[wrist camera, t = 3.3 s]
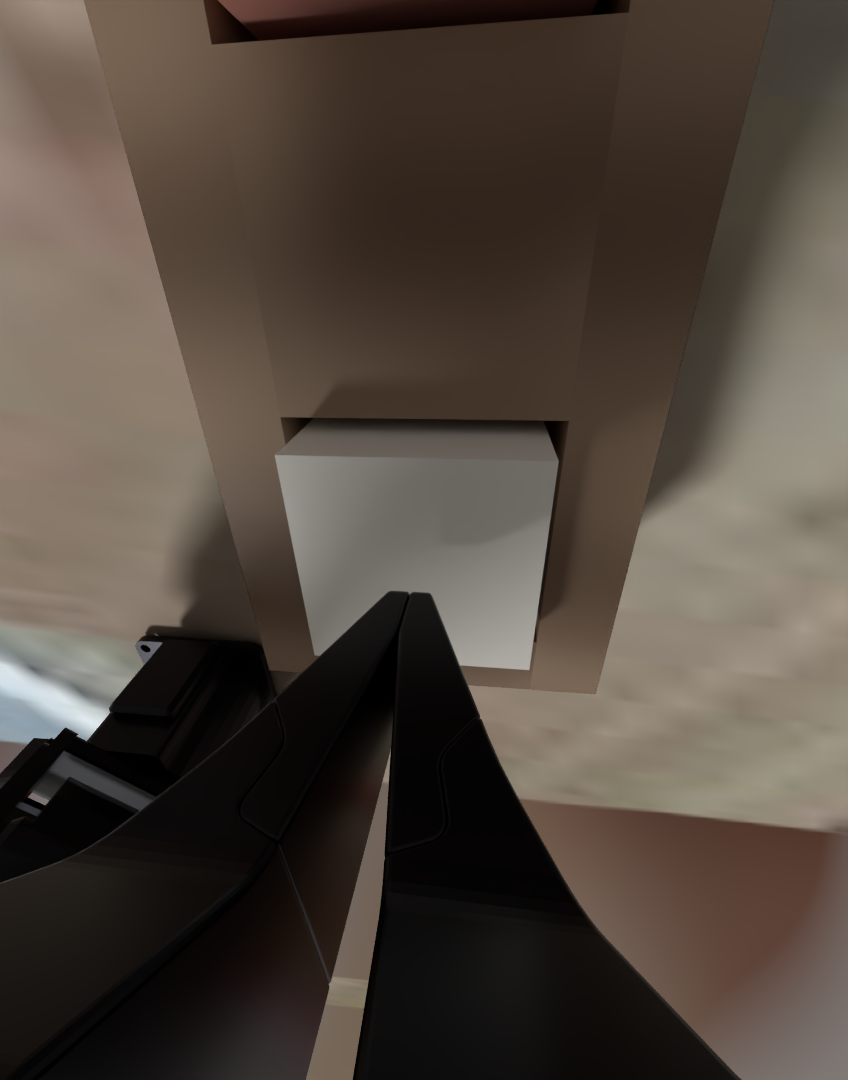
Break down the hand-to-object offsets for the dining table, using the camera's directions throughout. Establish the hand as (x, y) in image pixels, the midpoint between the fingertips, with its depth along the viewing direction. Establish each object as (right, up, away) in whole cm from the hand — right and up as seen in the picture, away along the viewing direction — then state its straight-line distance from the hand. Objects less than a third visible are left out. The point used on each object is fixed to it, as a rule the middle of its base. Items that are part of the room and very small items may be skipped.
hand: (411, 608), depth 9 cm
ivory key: (0, +3, +4) cm, 5 cm away
